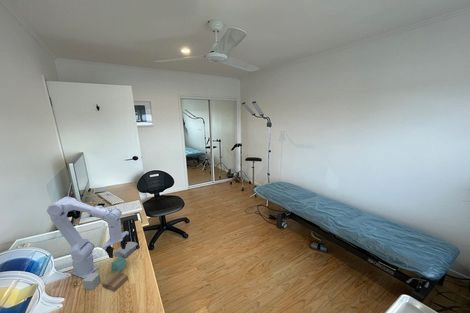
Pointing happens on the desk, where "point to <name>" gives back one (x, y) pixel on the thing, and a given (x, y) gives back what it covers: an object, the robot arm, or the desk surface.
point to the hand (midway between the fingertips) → (117, 252)
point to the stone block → (126, 250)
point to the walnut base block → (115, 281)
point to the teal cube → (118, 264)
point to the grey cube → (91, 281)
